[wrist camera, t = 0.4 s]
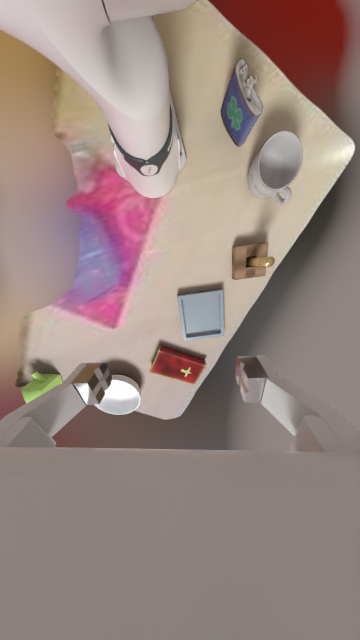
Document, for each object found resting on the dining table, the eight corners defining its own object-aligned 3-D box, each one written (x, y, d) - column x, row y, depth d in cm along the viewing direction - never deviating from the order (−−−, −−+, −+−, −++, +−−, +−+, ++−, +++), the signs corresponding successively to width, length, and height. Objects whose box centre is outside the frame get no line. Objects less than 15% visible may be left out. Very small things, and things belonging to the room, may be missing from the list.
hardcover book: (159, 344, 61) (158, 349, 57) (204, 358, 64) (206, 365, 60) (150, 365, 65) (149, 372, 61) (193, 378, 68) (194, 385, 64)
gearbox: (35, 364, 63) (11, 380, 54) (58, 365, 63) (37, 381, 54) (46, 395, 69) (25, 414, 60) (66, 396, 69) (50, 415, 60)
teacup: (239, 165, 40) (253, 143, 33) (278, 145, 39) (303, 117, 31) (250, 220, 45) (265, 212, 38) (285, 204, 44) (307, 192, 36)
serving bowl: (93, 394, 70) (85, 408, 63) (104, 361, 63) (96, 373, 56) (135, 406, 73) (131, 420, 67) (150, 376, 67) (147, 388, 60)
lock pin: (243, 258, 49) (265, 257, 37) (250, 257, 49) (275, 256, 37) (243, 266, 50) (264, 267, 38) (250, 265, 50) (274, 266, 38)
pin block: (232, 247, 48) (235, 246, 45) (262, 243, 47) (268, 242, 45) (232, 278, 51) (235, 279, 48) (260, 274, 51) (265, 275, 48)
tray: (177, 295, 53) (177, 296, 50) (221, 288, 52) (223, 290, 50) (183, 338, 60) (183, 341, 57) (222, 332, 59) (224, 335, 57)
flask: (246, 141, 38) (270, 99, 28) (236, 151, 39) (257, 113, 29) (227, 100, 35) (247, 37, 25) (217, 112, 36) (232, 54, 26)
